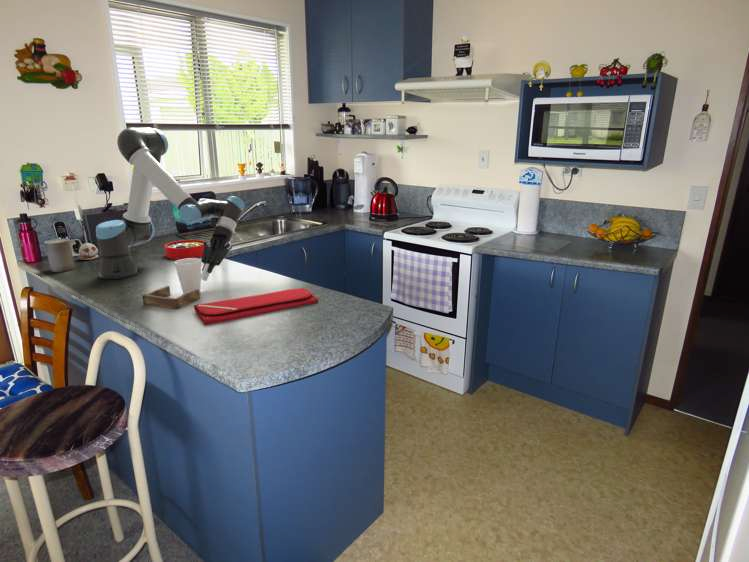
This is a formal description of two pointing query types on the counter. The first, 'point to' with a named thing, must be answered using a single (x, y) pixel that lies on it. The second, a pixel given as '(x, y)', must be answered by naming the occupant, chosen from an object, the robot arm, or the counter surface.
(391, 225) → the counter surface
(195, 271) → the foam cup
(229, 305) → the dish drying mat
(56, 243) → the grey tapered container
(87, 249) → the decorative ornament
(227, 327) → the counter surface
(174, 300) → the brown bent bar
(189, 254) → the red round bowl
